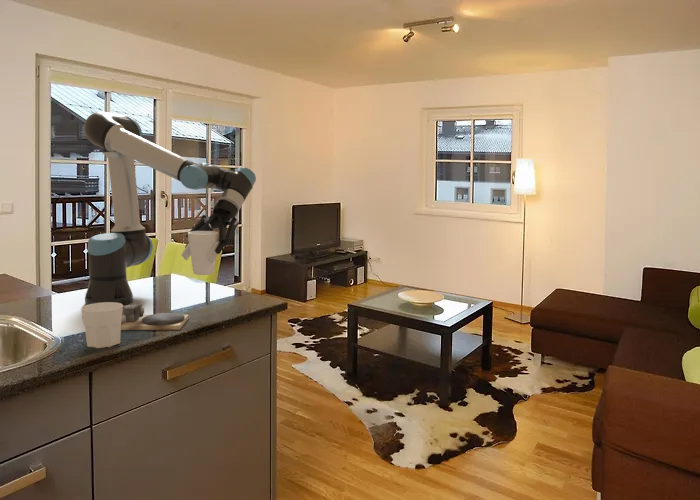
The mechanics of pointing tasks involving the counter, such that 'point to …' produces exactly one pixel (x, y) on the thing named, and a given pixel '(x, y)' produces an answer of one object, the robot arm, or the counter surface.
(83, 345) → the counter surface
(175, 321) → the shaft stand
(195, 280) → the counter surface
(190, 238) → the foam cup
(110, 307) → the cup
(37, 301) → the counter surface
